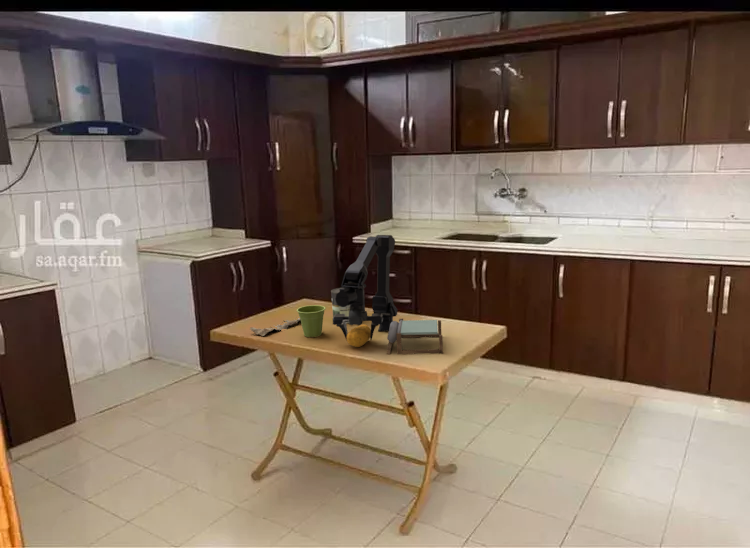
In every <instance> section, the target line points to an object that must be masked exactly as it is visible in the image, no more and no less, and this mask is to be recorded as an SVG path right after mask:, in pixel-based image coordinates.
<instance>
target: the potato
mask: <svg viewBox="0 0 750 548" xmlns="http://www.w3.org/2000/svg"><path fill="white" fill-rule="evenodd" d="M347 333H348V334H347V341H346V342H347V343H348V345H349V346H352V347H355V348H359V347H362V346H363V345H365V344H366V343H367V342H369V340H370V333H371V327H370V326H369V325H367V324H364V323H362V324H361V325H357V326H355V327H353V328H352V329H351V330H349V331H348V332H347Z"/></svg>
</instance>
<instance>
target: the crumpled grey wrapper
mask: <svg viewBox="0 0 750 548" xmlns="http://www.w3.org/2000/svg"><path fill="white" fill-rule="evenodd" d="M282 322H287V323H284V324H283V325H280V324H276V325H277V326H275V325H274V326H275V327H277V329H276V328H273V327H271V328H270V327H265V328H256V327H250V328H249V330H250V331H251V332H253V333H254V334H256V335H260V336H261V337H263V336H265V335H267V334H268V333H269V332H272V331H273V330H276V331H279V332H281V331H280V330H282V329H287V330H288V329H289V326H293V325H294V324H296V325H297V324H298V322H301V320H300V318H298V319H297V320H295V319H293V320H289V319H286V320H283V321H282Z"/></svg>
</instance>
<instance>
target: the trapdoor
mask: <svg viewBox="0 0 750 548" xmlns="http://www.w3.org/2000/svg"><path fill="white" fill-rule="evenodd" d="M387 332H388V334H387V339H386V340H388V343H389V342H392V344H393V343H395V342H396V343H397V335H396V334H397V333H401V335H416V334H438V319H420V320H419V319H418V320H417V319H416V320H415V319H414V320H411V319H410V320H409V319H407V320H403V321H402V320H400V321H399V320H398V321H397V320H393V322H391V324H390V328H389V331H387Z"/></svg>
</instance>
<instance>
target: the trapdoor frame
mask: <svg viewBox="0 0 750 548" xmlns="http://www.w3.org/2000/svg"><path fill="white" fill-rule="evenodd" d="M400 320H402V321H404V318H398V322H399V321H400ZM437 328H438V334H416V335H401V333H397V334H396V335H397V340H396V353H397V355H416V354H415V353H439V354H444V352H443V351H444V345H443V344H444V342H443V338H444V337H443V334H442V320H440V319H439V320H438V319H437ZM420 337H432V338H438V341H439V342H438V345H439V348H438V349H437V348H435V349H434V348H433V349H431V348H430V349H429V348H428V349H403V348H402V345H403V344H402V339H417V338H418V339H419V338H420ZM420 339H421V338H420ZM387 343H388V344H387V347H386V355H391V352H392V346H393V343H392V342H389V341H388V342H387ZM408 353H409V354H408ZM413 353H414V354H413Z"/></svg>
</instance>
